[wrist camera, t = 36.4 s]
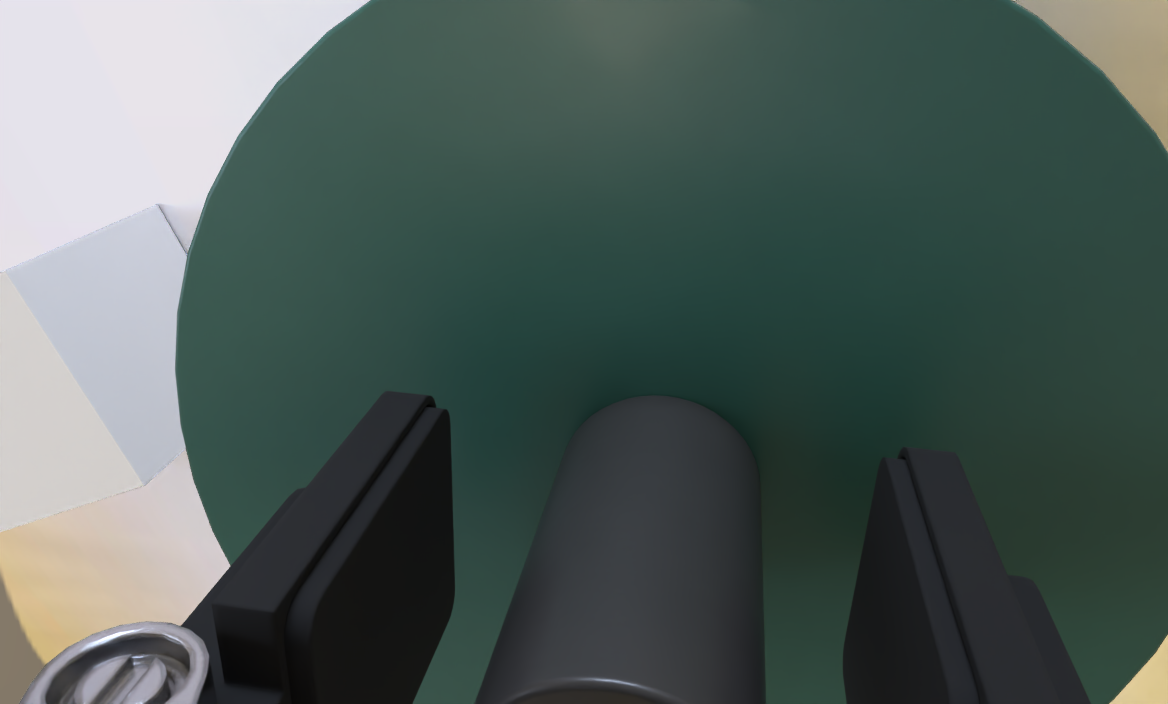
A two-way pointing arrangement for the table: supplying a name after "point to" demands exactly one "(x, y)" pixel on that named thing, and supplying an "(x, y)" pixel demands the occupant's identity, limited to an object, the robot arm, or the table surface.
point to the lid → (698, 322)
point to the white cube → (89, 368)
